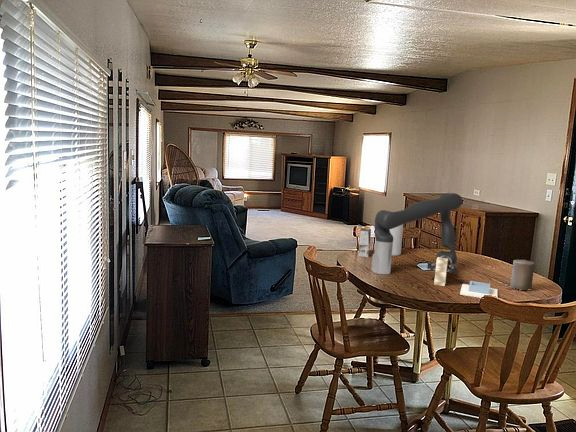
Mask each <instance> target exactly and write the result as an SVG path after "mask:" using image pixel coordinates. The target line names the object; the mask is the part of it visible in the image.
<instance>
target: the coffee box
mask: <svg viewBox="0 0 576 432" xmlns="http://www.w3.org/2000/svg"><path fill="white" fill-rule="evenodd" d="M371 235H372V229H371V228H360V231H359V244H358V257H363V258H369V255H370V248H371V247H370V246H371V238H372V237H371Z"/></svg>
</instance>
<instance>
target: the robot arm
mask: <svg viewBox="0 0 576 432" xmlns="http://www.w3.org/2000/svg"><path fill="white" fill-rule="evenodd" d="M462 204H463V198H462V196H461V195H460V194H458V193H454V192H446V193H442V194H440V197H439V198H438V199H426V200H422V201H421V200H420V201H418V202H414V203H411V204H410V205H408V206H407V207H406V208H405V209H402V210H397V211H389V210H385V209H384V210H383V209H382V210H379V211H378V212H377V213H376V215H375V218H374V236H375V237H374V238H375V240H374V241H375V242H374V243H375V244H374V253H372V261H371V272H373V273H374V274H378V275H390V274H391V270H392V269H391V268H392V258H393V257H392V248H393V236H392V234H391V233H390V229H393V228H395V227H398V226H400V225H402V224H403V225H405V224H407V223H412V222H415V221H419V220H422V219H425V218H430V217H432V216H435V215H437V214H440V222H441V236H440V237H441V239H440V244H441V245H440V246H441V247H443V248H446V249H449V251H446V250H441V251H439V252H438V253H437V255H436V257H437V258H438V257H441V258H448V265H447V272H448V273H449V274H451V273H453V272H454V273H457V272H458V265H456V263H457V261H458V256H457V252H456V248H455V247H456V246H455V239H456V238H455V236H456V235H455V234H456V233H455V227H454V225H453V222H452V220H451V219H452V218H451V211H454V210H457V209H459V208H460V207H461V206H462ZM437 258H436V259H437ZM426 268H427V270H431V271H432V272H433V271H436V262H434V263H433V262H432V261H429V262H428V263H427V267H426Z"/></svg>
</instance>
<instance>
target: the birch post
mask: <svg viewBox="0 0 576 432" xmlns="http://www.w3.org/2000/svg"><path fill="white" fill-rule="evenodd" d="M435 263H436V270H434V273H435V274H434V280H433V281H434V282H433V285H434V286H442V287H445V286H446V282H447V265H448V258H441V257H438V258H436V262H435Z"/></svg>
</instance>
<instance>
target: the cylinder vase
mask: <svg viewBox="0 0 576 432" xmlns="http://www.w3.org/2000/svg"><path fill="white" fill-rule="evenodd" d="M403 232H404V224H402V225H400V226H398V227H395V228H393V229H390V233H391V234H392V236H393V248H392V256H394V257H396V256H397V257H398V256H401V254H402V253H401V252H402V242H403Z"/></svg>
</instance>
